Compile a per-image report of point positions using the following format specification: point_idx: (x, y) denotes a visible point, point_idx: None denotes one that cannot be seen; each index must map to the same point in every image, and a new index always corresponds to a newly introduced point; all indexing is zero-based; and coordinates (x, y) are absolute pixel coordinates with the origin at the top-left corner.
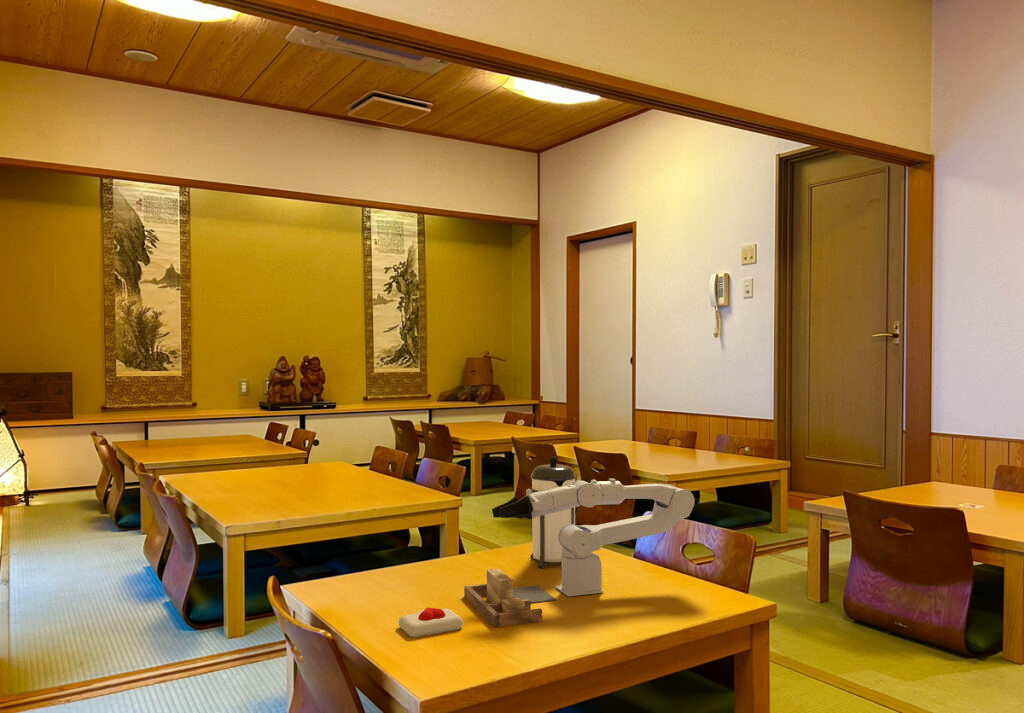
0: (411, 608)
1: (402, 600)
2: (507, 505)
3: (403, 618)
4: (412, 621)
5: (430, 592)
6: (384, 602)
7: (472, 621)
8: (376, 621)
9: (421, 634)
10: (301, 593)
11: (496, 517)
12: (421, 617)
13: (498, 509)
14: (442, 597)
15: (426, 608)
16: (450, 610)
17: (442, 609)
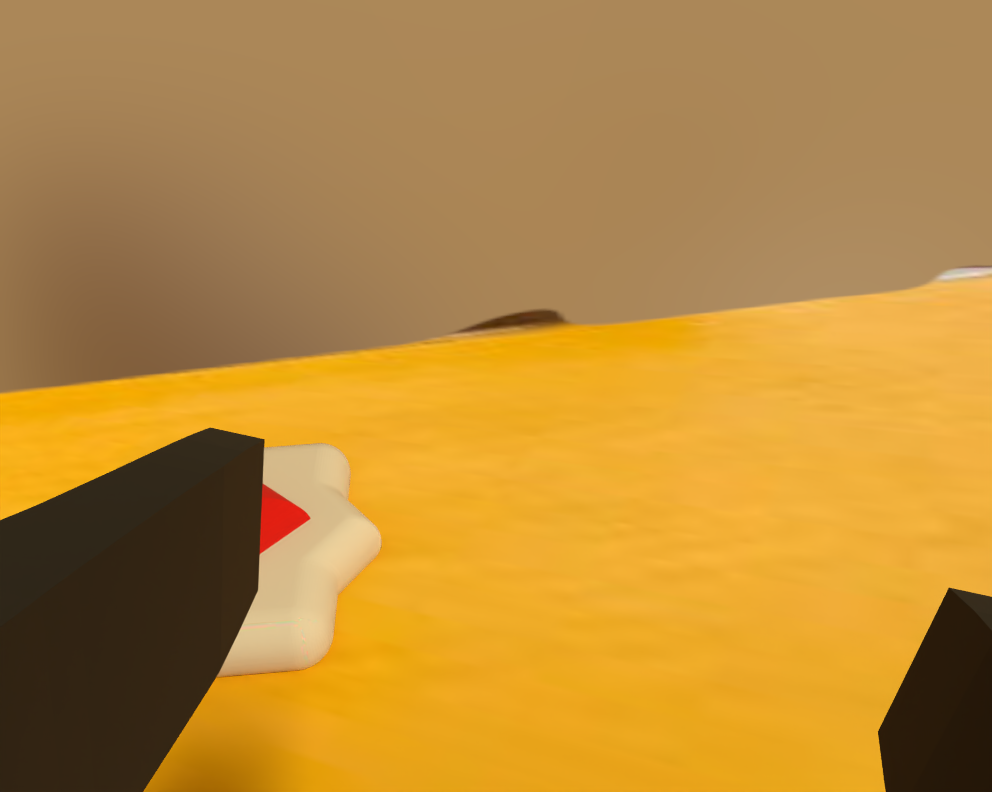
0: (580, 559)
1: (736, 550)
2: (132, 507)
3: (299, 445)
4: None
5: (878, 711)
6: (723, 485)
7: (186, 770)
8: (463, 429)
9: None
10: (923, 300)
11: (889, 786)
12: None
13: (989, 731)
14: (742, 749)
15: (269, 494)
16: (256, 621)
17: (292, 589)
